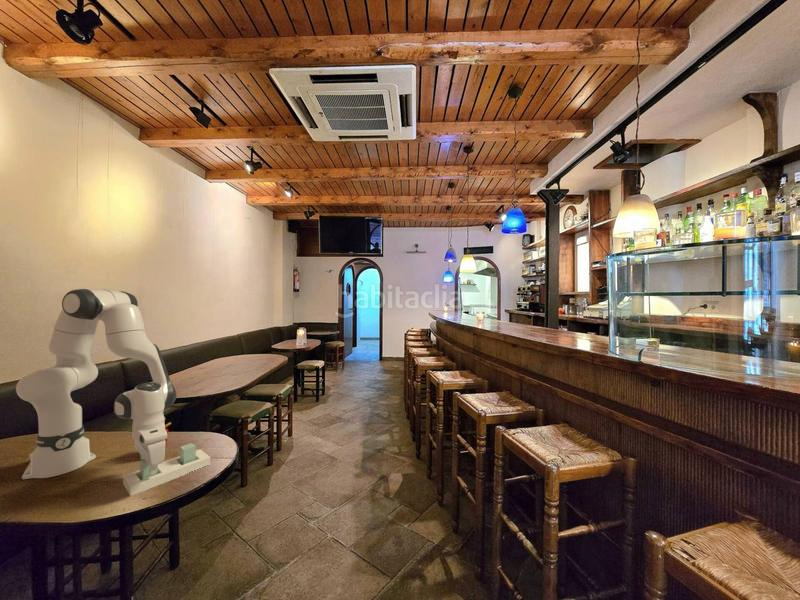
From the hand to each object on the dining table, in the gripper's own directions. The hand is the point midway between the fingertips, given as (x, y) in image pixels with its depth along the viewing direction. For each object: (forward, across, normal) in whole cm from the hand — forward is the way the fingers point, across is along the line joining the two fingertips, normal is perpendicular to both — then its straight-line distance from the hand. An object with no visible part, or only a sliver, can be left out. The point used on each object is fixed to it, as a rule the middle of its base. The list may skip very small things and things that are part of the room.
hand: (148, 468), depth 109 cm
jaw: (+5, 0, 0) cm, 5 cm away
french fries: (+5, -20, +8) cm, 22 cm away
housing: (+5, 0, +6) cm, 8 cm away
